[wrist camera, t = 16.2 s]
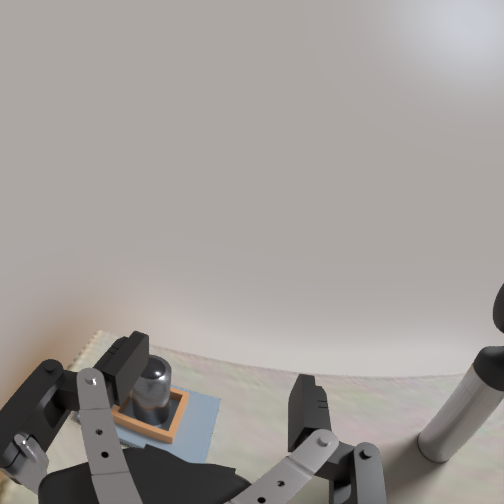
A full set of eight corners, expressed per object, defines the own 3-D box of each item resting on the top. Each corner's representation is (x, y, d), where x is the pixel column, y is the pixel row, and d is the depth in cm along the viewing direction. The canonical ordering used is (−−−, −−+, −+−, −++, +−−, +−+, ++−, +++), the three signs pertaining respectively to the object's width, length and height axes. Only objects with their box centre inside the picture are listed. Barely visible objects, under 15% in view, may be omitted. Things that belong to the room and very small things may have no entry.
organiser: (219, 403, 38) (222, 391, 37) (203, 469, 25) (205, 460, 25) (116, 369, 38) (114, 356, 37) (78, 420, 26) (73, 408, 25)
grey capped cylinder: (162, 396, 35) (164, 351, 32) (174, 422, 31) (177, 379, 28) (129, 400, 32) (125, 355, 29) (138, 428, 28) (134, 385, 25)
